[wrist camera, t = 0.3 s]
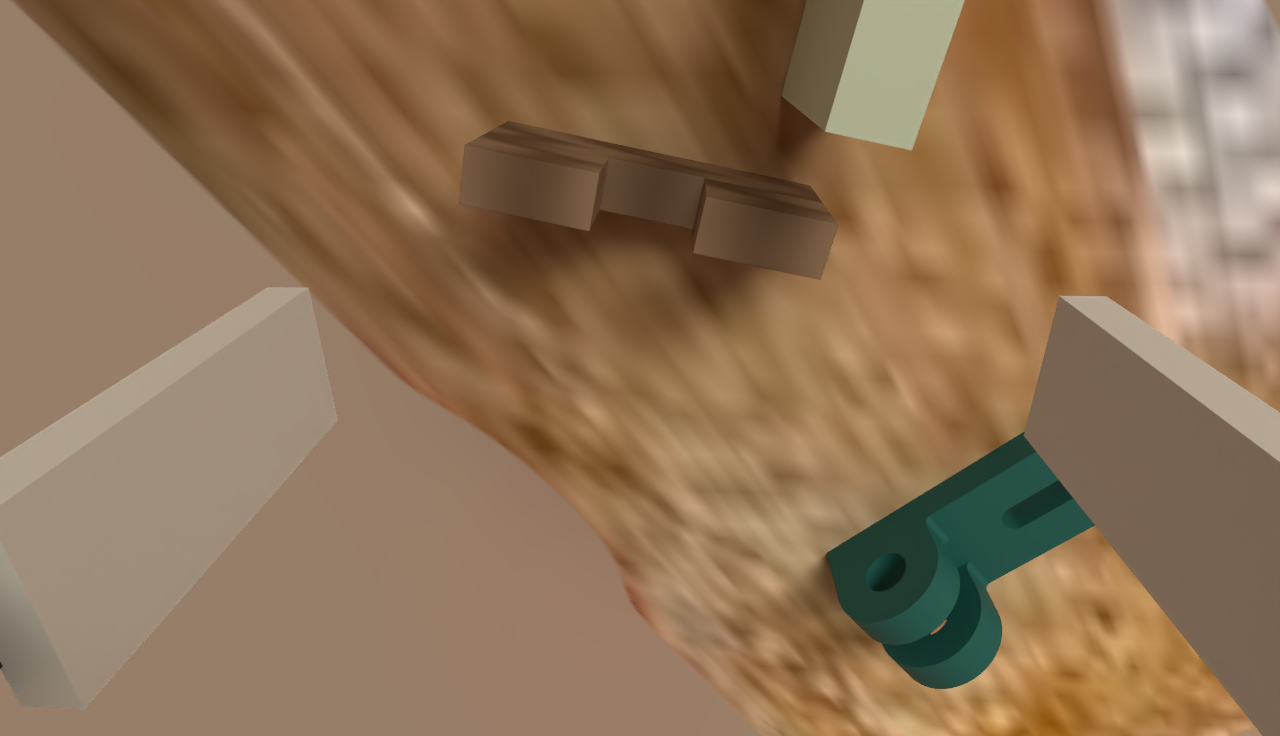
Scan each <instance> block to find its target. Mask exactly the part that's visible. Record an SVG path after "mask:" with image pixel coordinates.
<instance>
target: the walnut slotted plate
mask: <svg viewBox="0 0 1280 736" xmlns="http://www.w3.org/2000/svg"><path fill="white" fill-rule="evenodd" d="M460 204H462V205H467V206H472V207H476V208H481V209H486V210H491V211H495V212H500V213H505V214H510V215H514V216H519V217H524V218H529V219H533V220H538V221H543V222H548V223H552V224H557V225H562V226H567V227H571V228H576V229H581V230H586V231H590V229H591V227H592V225H593V223H594V221H595V219H596V217H597V214H598V212H599V210H604V211H609V212H613V213H618V214H623V215H628V216H632V217H637V218H642V219H647V220H651V221H656V222H661V223H665V224H670V225H675V226H680V227H684V228H689V229H693V253H695V254H700V255H705V256H709V257H714V258H719V259H724V260H728V261H733V262H738V263H743V264H747V265H752V266H757V267H762V268H766V269H771V270H776V271H781V272H785V273H790V274H795V275H800V276H804V277H809V278H814V279H819V280H821V277H822V274H823V271H824V268H825V264H826V261H827V258H828V255H829V252H830V249H831V246H832V243H833V240H834V237H835V234H836V230H837V227H838V223H837V222H836V221H835V219H834V218H833V217H832V215H831V214H830V212H829V211H828V210H827V208H826V207H825V206H824V204H823V203H822V201H821V200H820V199H819V197H818V196H817V195H816V193H815V192H814V190H813V189H812V188H811V186H808V185H804V184H799V183H794V182H790V181H785V180H780V179H776V178H771V177H766V176H762V175H757V174H752V173H748V172H743V171H738V170H734V169H729V168H724V167H720V166H715V165H710V164H706V163H701V162H696V161H692V160H687V159H682V158H678V157H673V156H668V155H664V154H659V153H654V152H650V151H645V150H640V149H635V148H631V147H626V146H621V145H617V144H612V143H607V142H603V141H598V140H593V139H589V138H584V137H579V136H575V135H570V134H565V133H561V132H556V131H551V130H547V129H542V128H537V127H533V126H528V125H523V124H519V123H514V122H509V121H508V122H506V123H504V124H503V125H501V126H499V127H497V128H495V129H493V130H492V131H490V132H488V133H486V134H484V135H482V136H481V137H479V138H477V139H475V140H473V141H471V142H470V143H468V144H466V145H465V148H464V159H463V171H462V182H461V194H460Z"/></svg>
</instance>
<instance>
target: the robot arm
mask: <svg viewBox="0 0 1280 736" xmlns="http://www.w3.org/2000/svg"><path fill="white" fill-rule="evenodd" d="M337 421H338V418H337V414H336V409H335V404H334V400H333V395H332V391H331V386H330V382H329V378H328V373H327V368H326V364H325V360H324V355H323V351H322V346H321V341H320V337H319V332H318V329H317V323H316V319H315V314H314V310H313V305H312V301H311V296H310V292H309V288H288V287H286V288H285V287H267V288H266V289H264V290H263V291H261V292H259V293H258V294H256V295H255V296H253V297H252V298H250V299H248V300H247V301H245V302H244V303H242V304H241V305H239V306H237V307H236V308H234V309H233V310H231V311H230V312H228V313H226V314H225V315H223V316H222V317H220V318H219V319H217V320H216V321H214V322H212V323H211V324H209V325H208V326H206V327H205V328H203V329H201V330H200V331H198V332H197V333H195V334H193V335H192V336H190V337H189V338H187V339H186V340H184V341H182V342H181V343H179V344H178V345H176V346H174V347H173V348H171V349H170V350H168V351H167V352H165V353H163V354H162V355H160V356H159V357H157V358H156V359H154V360H153V361H151V362H150V363H148V364H146V365H145V366H143V367H141V368H140V369H138V370H137V371H135V372H134V373H132V374H130V375H129V376H127V377H126V378H124V379H123V380H121V381H119V382H118V383H117V384H115V385H113V386H112V387H110V388H108V389H107V390H105V391H104V392H102V393H101V394H99V395H97V396H96V397H94V398H93V399H91V400H90V401H88V402H86V403H85V404H83V405H82V406H80V407H79V408H77V409H75V410H74V411H72V412H71V413H69V414H68V415H66V416H65V417H63V418H61V419H60V420H58V421H57V422H55V423H53V424H52V425H50V426H49V427H47V428H46V429H44V430H43V431H41V432H39V433H38V434H36V435H35V436H33V437H32V438H30V439H28V440H27V441H25V442H24V443H22V444H20V445H19V446H17V447H16V448H14V449H13V450H11V451H10V452H8V453H6V454H5V455H3V456H2V457H0V669H1V670H2V672H3V674H4V676H5V678H6V680H7V681H8V683H9V685H10V687H11V689H12V690H13V692H14V694H15V696H16V698H17V699H18V701H19V703H20V704H21V706H25V707H46V708H65V709H85V708H86V707H87V706H88V705H89V704H90V702H91V701H92V700H93V699H94V698H95V697H96V696H97V695H98V693H99V692H100V691H101V690H102V689H103V687H105V685H106V684H107V683H108V682H109V680H111V678H112V677H113V676H114V675H115V674H116V673H117V672H118V670H119V669H120V668H121V667H122V666H123V665H124V664H125V663H126V661H127V660H128V659H129V658H130V657H131V656H132V655H133V653H134V652H135V651H136V650H137V649H138V648H139V647H140V645H141V644H142V643H143V642H144V641H145V639H147V637H148V636H149V635H150V634H151V633H152V632H153V631H154V630H155V628H156V627H157V626H158V625H159V624H160V623H161V622H162V620H163V619H164V618H165V617H166V616H167V615H168V614H169V612H170V611H171V610H172V609H173V608H174V607H175V606H176V604H177V603H178V602H179V601H180V600H181V599H182V598H183V596H184V595H185V594H186V593H187V592H188V591H189V590H190V588H191V587H192V586H193V585H194V584H195V583H196V582H197V580H198V579H199V578H200V577H201V576H202V575H203V574H204V573H205V571H206V570H207V569H208V568H209V567H210V565H211V564H212V563H213V562H214V561H215V560H216V558H218V557H219V555H220V554H221V553H222V552H223V551H224V549H225V548H226V547H227V546H228V545H229V544H230V543H231V542H232V541H233V539H234V538H235V537H236V536H237V535H238V533H240V531H241V530H242V529H243V528H244V527H245V526H246V525H247V523H248V522H249V521H250V520H251V519H252V518H253V517H254V516H255V514H256V513H257V512H258V511H259V510H260V509H261V508H262V506H263V505H264V504H265V503H266V502H267V501H268V500H269V498H270V497H271V496H272V495H273V494H274V493H275V492H276V490H277V489H278V488H279V487H280V486H281V484H283V482H284V481H285V480H286V479H287V478H288V477H289V476H290V474H291V473H292V472H293V471H294V470H295V469H296V468H297V466H298V465H299V464H300V463H301V462H302V461H303V460H304V458H305V457H306V456H307V455H308V454H309V453H310V452H311V450H312V449H313V448H314V447H315V446H316V445H317V444H318V442H319V441H320V440H321V439H322V438H323V437H324V435H326V433H327V432H328V431H329V430H330V429H331V428H332V427H333V425H334V424H335V423H336V422H337ZM1024 437H1025V438H1026V439H1027V441H1028V442H1029V443H1030V444H1031V446H1032V447H1033V448H1034V449H1035V451H1036V452H1037V453H1038V454H1039V456H1040V457H1041V458H1042V459H1043V461H1044V462H1045V463H1046V464H1047V466H1048V467H1049V468H1050V469H1051V471H1052V472H1053V473H1054V474H1055V476H1056V477H1057V478H1058V479H1059V481H1060V482H1061V483H1062V484H1063V486H1064V487H1065V488H1066V489H1067V491H1068V492H1069V493H1070V494H1071V496H1072V497H1073V498H1074V500H1075V501H1076V502H1077V503H1078V505H1079V506H1080V507H1081V508H1082V510H1083V511H1084V512H1085V513H1086V515H1087V516H1088V517H1089V518H1090V520H1091V521H1092V522H1093V523H1094V525H1095V526H1096V527H1097V528H1098V530H1099V531H1100V532H1101V533H1102V535H1103V536H1104V537H1105V538H1106V540H1107V541H1108V542H1109V543H1110V545H1111V546H1112V547H1113V548H1114V550H1115V551H1116V552H1117V553H1118V555H1119V556H1120V557H1121V558H1122V560H1123V561H1124V562H1125V564H1126V565H1127V566H1128V567H1129V569H1130V570H1131V571H1132V572H1133V574H1134V575H1135V576H1136V577H1137V579H1138V580H1139V581H1140V582H1141V584H1142V585H1143V586H1144V587H1145V589H1146V590H1147V591H1148V592H1149V594H1150V595H1151V596H1152V597H1153V599H1154V600H1155V601H1156V602H1157V604H1158V605H1159V606H1160V607H1161V609H1162V610H1163V611H1164V612H1165V614H1166V615H1167V616H1168V617H1169V619H1170V620H1171V621H1172V622H1173V624H1174V625H1175V626H1176V628H1177V629H1178V630H1179V631H1180V633H1181V634H1182V635H1183V636H1184V638H1185V639H1186V640H1187V641H1188V643H1189V644H1190V645H1191V646H1192V648H1193V649H1194V650H1195V651H1196V653H1197V654H1198V655H1199V656H1200V658H1201V659H1202V660H1203V661H1204V663H1205V664H1206V665H1207V666H1208V668H1209V669H1210V670H1211V671H1212V673H1213V674H1214V675H1215V676H1216V678H1217V679H1218V680H1219V681H1220V683H1221V684H1222V685H1223V686H1224V688H1225V689H1226V690H1227V692H1228V693H1229V694H1230V695H1231V697H1232V698H1233V699H1234V700H1235V702H1236V703H1237V704H1238V705H1239V707H1240V708H1241V709H1242V710H1243V712H1244V713H1245V714H1246V715H1247V717H1248V718H1249V719H1250V720H1251V722H1252V723H1253V724H1254V725H1255V727H1256V728H1257V729H1258V730H1259V732H1260V733H1261V734H1262V735H1263V736H1280V412H1278V411H1277V410H1275V409H1274V408H1272V407H1271V406H1269V405H1268V404H1266V403H1265V402H1263V401H1262V400H1260V399H1259V398H1257V397H1256V396H1254V395H1253V394H1251V393H1250V392H1248V391H1247V390H1245V389H1244V388H1242V387H1241V386H1239V385H1238V384H1236V383H1235V382H1233V381H1232V380H1230V379H1229V378H1227V377H1226V376H1224V375H1223V374H1221V373H1220V372H1218V371H1217V370H1215V369H1214V368H1212V367H1211V366H1209V365H1208V364H1206V363H1205V362H1203V361H1202V360H1200V359H1199V358H1198V357H1196V356H1195V355H1193V354H1192V353H1190V352H1189V351H1187V350H1186V349H1184V348H1183V347H1181V346H1180V345H1178V344H1177V343H1175V342H1174V341H1172V340H1171V339H1169V338H1168V337H1166V336H1165V335H1163V334H1162V333H1160V332H1159V331H1157V330H1156V329H1154V328H1153V327H1151V326H1150V325H1148V324H1147V323H1145V322H1144V321H1142V320H1141V319H1139V318H1138V317H1136V316H1135V315H1133V314H1132V313H1130V312H1129V311H1127V310H1126V309H1124V308H1123V307H1121V306H1120V305H1118V304H1117V303H1115V302H1114V301H1112V300H1111V299H1109V298H1108V297H1106V296H1059V300H1058V304H1057V308H1056V312H1055V315H1054V319H1053V323H1052V327H1051V331H1050V335H1049V339H1048V343H1047V347H1046V351H1045V354H1044V358H1043V362H1042V366H1041V370H1040V374H1039V378H1038V382H1037V386H1036V390H1035V394H1034V397H1033V401H1032V405H1031V409H1030V413H1029V417H1028V421H1027V425H1026V429H1025V433H1024Z"/></svg>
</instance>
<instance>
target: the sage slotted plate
mask: <svg viewBox="0 0 1280 736" xmlns="http://www.w3.org/2000/svg"><path fill="white" fill-rule="evenodd" d="M964 1H965V0H807V1H806V4H805V8H804V12H803V16H802V19H801V23H800V27H799V31H798V34H797V38H796V42H795V46H794V49H793V53H792V57H791V61H790V64H789V68H788V72H787V76H786V79H785V83H784V87H783V91H782V94H781V96H782V97H783V98H785V99H786V100H787V101H788V102H789V103H791V104H792V105H793V106H794V107H796V108H797V109H798V110H799V111H800V112H802V113H803V114H804V115H805V116H807V117H808V118H809V119H810V120H811V121H813V122H814V123H815V124H816V125H818V126H819V127H820V128H821V129H822V130H824V131H825V132H829V133H834V134H839V135H843V136H848V137H852V138H857V139H862V140H866V141H871V142H876V143H880V144H885V145H889V146H894V147H899V148H903V149H908V150H912V148H913V145H914V142H915V140H916V137H917V134H918V131H919V128H920V125H921V123H922V120H923V117H924V114H925V111H926V108H927V106H928V103H929V100H930V97H931V94H932V91H933V89H934V86H935V83H936V80H937V77H938V74H939V72H940V69H941V66H942V63H943V60H944V57H945V55H946V52H947V49H948V46H949V43H950V40H951V38H952V35H953V32H954V29H955V26H956V23H957V21H958V18H959V15H960V12H961V9H962V6H963V4H964Z"/></svg>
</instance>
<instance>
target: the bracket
mask: <svg viewBox="0 0 1280 736" xmlns="http://www.w3.org/2000/svg"><path fill="white" fill-rule="evenodd" d="M1024 433H1025V432H1023V433H1022V434H1020V435H1018V436H1017V437H1015V438H1013V439H1012V440H1010V441H1008V442H1007V443H1005V444H1004V445H1002V446H1000V447H999V448H997V449H995V450H994V451H992V452H991V453H989V454H987V455H986V456H984V457H982V458H981V459H979V460H978V461H976V462H974V463H973V464H971V465H969V466H968V467H966V468H964V469H963V470H961V471H960V472H958V473H956V474H955V475H953V476H951V477H950V478H948V479H947V480H945V481H943V482H942V483H940V484H938V485H937V486H935V487H933V488H932V489H930V490H929V491H927V492H925V493H924V494H922V495H920V496H919V497H917V498H916V499H914V500H912V501H911V502H909V503H907V504H906V505H904V506H902V507H901V508H899V509H898V510H896V511H894V512H893V513H891V514H889V515H888V516H886V517H885V518H883V519H881V520H880V521H878V522H876V523H875V524H873V525H872V526H870V527H868V528H867V529H865V530H863V531H862V532H860V533H858V534H857V535H855V536H854V537H852V538H850V539H849V540H847V541H845V542H844V543H842V544H841V545H839V546H837V547H836V548H834V549H832V550H831V551H829V552H827V555H828V559H829V563H830V567H831V571H832V575H833V579H834V583H835V587H836V591H837V595H838V599H839V602H840V604H841V607H842V608H843V610H844V611H845V612H846V613H847V614H848V615H849V616H850V617H851V618H852V619H853V620H854V621H855V622H856V623H857V624H858V625H859V626H860V627H861V628H862V629H863V630H864V631H865V632H866V633H867V634H868V635H869V636H870V637H871V638H873V639H874V640H876V641H878V642H881V643H882V644H883V647H884V649H885V651H886V652H887V653H888V655H889V656H890V657H891V658H892V659H893V660H894V661H895V662H896V663H897V664H898V665H899V666H900V667H901V668H902V669H903V670H905V671H906V672H907V673H908V674H909V675H910V676H911V677H912V678H913V679H914V680H915V681H916V682H918V683H920V684H922V685H924V686H927V687H930V688H935V689H947V688H953V687H957V686H960V685H963V684H965V683H967V682H969V681H971V680H973V679H974V678H976V677H977V676H978V675H980V674H981V673H982V672H983V671H984V670H985V669H986V668H987V667H988V666H989V665H990V663H991V662H992V660H993V659H994V657H995V655H996V653H997V651H998V649H999V646H1000V643H1001V638H1002V624H1001V619H1000V616H999V614H998V611H997V609H996V608H995V606H994V604H993V602H992V600H991V598H990V596H989V594H988V592H987V590H986V587H987V585H988V584H989V583H990V582H992V581H994V580H996V579H997V578H999V577H1001V576H1003V575H1005V574H1007V573H1008V572H1010V571H1012V570H1014V569H1016V568H1018V567H1019V566H1021V565H1023V564H1025V563H1027V562H1029V561H1030V560H1032V559H1034V558H1036V557H1038V556H1040V555H1041V554H1043V553H1045V552H1047V551H1049V550H1051V549H1052V548H1054V547H1056V546H1058V545H1060V544H1062V543H1063V542H1065V541H1067V540H1069V539H1071V538H1073V537H1074V536H1076V535H1078V534H1080V533H1082V532H1084V531H1085V530H1087V529H1089V528H1091V527H1093V526H1095V525H1094V523H1093V522H1092V521H1091V520H1090V518H1089V517H1088V516H1087V515H1086V513H1085V512H1084V511H1083V510H1082V508H1081V507H1080V506H1079V505H1078V503H1077V502H1076V501H1075V500H1074V498H1073V497H1072V496H1071V494H1070V493H1069V492H1068V491H1067V489H1066V488H1065V487H1064V486H1063V484H1062V483H1061V482H1060V481H1059V479H1058V478H1057V477H1056V476H1055V474H1054V473H1053V472H1052V471H1051V469H1050V468H1049V467H1048V466H1047V464H1046V463H1045V462H1044V461H1043V459H1042V458H1041V457H1040V456H1039V454H1038V453H1037V452H1036V451H1035V449H1034V448H1033V447H1032V446H1031V444H1030V443H1029V442H1028V441H1027V439H1026V438H1025V437H1024ZM944 620H947V622H946V623H945V625H944V626H943V627H942V628H941V629H940V630H939V631H938V632H936V633H934V634H932V635H930V634H931V632H933V631H934V630H935V629H936V628H938V627H939V626H940V625H941V624H942V623H943V622H944Z"/></svg>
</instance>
